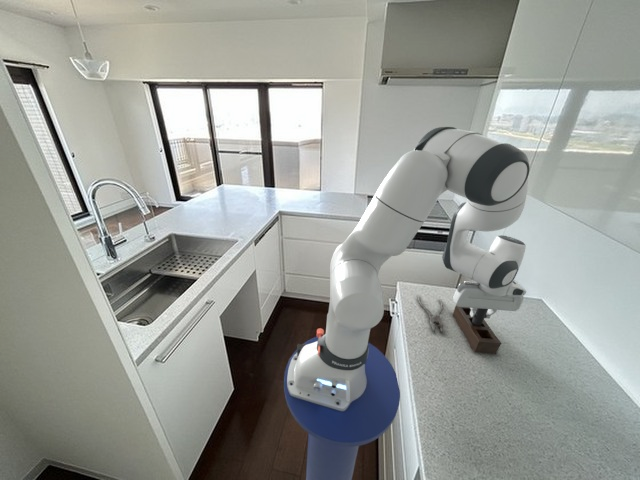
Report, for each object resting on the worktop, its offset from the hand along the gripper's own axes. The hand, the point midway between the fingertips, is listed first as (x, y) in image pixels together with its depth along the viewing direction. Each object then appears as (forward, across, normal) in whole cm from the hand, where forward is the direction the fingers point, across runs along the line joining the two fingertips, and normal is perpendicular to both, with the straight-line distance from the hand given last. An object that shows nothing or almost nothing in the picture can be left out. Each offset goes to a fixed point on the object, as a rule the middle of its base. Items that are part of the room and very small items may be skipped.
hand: (479, 316), depth 88 cm
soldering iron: (+6, 0, 0) cm, 6 cm away
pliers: (+8, -10, +8) cm, 15 cm away
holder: (+8, 0, 0) cm, 8 cm away
